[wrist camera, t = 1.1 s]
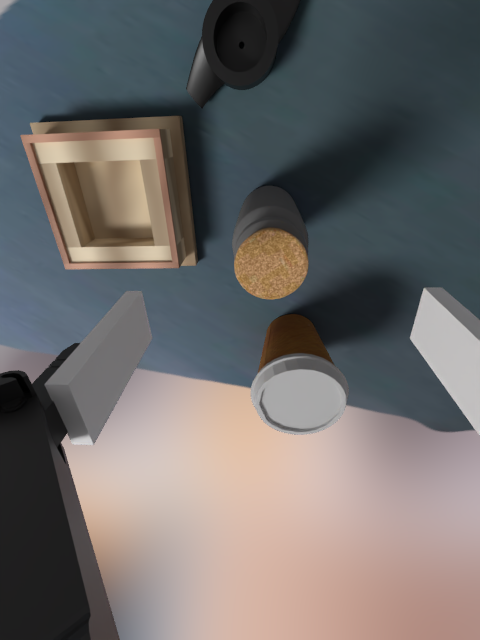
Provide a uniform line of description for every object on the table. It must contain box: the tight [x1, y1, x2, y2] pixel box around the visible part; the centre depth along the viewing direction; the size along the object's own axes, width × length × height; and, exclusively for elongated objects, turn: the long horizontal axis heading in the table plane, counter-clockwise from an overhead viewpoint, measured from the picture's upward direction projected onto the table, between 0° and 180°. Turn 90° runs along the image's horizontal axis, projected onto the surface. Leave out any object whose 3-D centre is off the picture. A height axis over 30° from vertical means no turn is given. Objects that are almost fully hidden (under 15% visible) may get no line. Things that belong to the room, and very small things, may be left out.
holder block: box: [20, 116, 198, 269], centre depth 31 cm, size 14×14×4 cm
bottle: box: [232, 186, 308, 299], centre depth 26 cm, size 6×6×15 cm
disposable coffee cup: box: [251, 314, 349, 434], centre depth 35 cm, size 10×10×12 cm
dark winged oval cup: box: [186, 0, 300, 108], centre depth 25 cm, size 8×10×3 cm
